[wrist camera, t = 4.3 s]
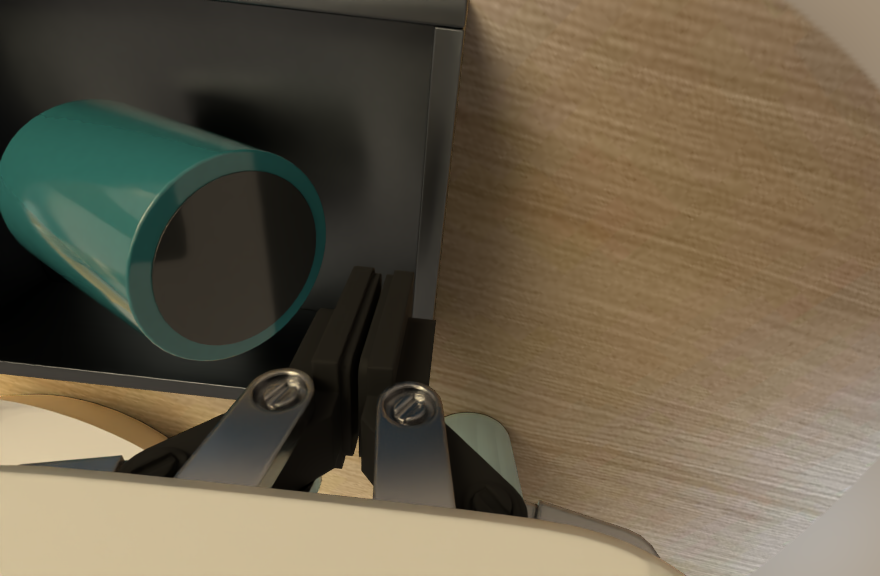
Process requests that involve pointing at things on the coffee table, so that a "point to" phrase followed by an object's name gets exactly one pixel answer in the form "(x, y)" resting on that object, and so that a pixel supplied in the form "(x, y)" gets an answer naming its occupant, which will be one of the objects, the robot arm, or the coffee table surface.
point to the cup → (487, 443)
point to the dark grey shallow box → (251, 122)
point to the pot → (165, 224)
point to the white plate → (67, 430)
